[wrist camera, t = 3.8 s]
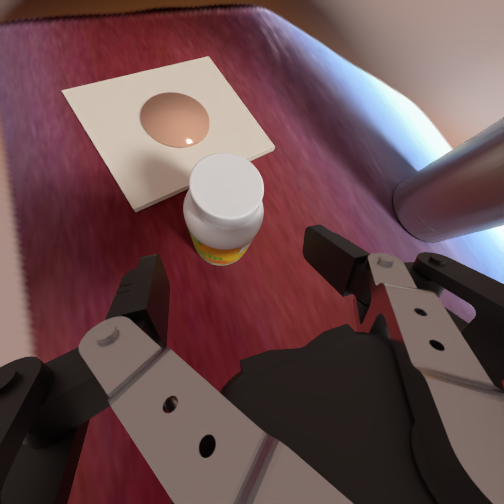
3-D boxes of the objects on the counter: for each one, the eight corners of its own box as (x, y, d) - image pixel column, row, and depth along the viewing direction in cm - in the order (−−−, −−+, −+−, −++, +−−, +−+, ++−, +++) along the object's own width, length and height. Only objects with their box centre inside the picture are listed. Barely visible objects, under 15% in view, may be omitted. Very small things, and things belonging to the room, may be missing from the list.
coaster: (189, 89, 22) (188, 85, 22) (221, 134, 22) (221, 131, 21) (129, 106, 20) (128, 102, 20) (162, 156, 19) (161, 154, 19)
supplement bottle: (181, 244, 18) (148, 186, 9) (216, 205, 20) (217, 124, 11) (226, 277, 18) (238, 253, 9) (257, 236, 20) (294, 180, 11)
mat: (208, 61, 25) (208, 56, 24) (273, 150, 23) (275, 146, 23) (65, 96, 20) (61, 90, 19) (135, 212, 18) (133, 209, 18)
